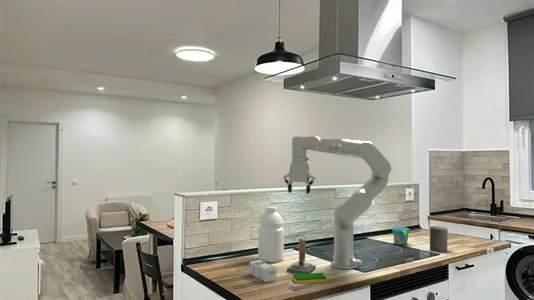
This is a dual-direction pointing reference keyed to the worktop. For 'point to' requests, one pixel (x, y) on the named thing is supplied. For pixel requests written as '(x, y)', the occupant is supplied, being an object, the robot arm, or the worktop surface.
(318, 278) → the dish sponge
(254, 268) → the syrup box
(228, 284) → the worktop surface
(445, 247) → the pillar candle
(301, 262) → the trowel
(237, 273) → the worktop surface
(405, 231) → the snack cup
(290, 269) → the rubber mat
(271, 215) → the bottle
